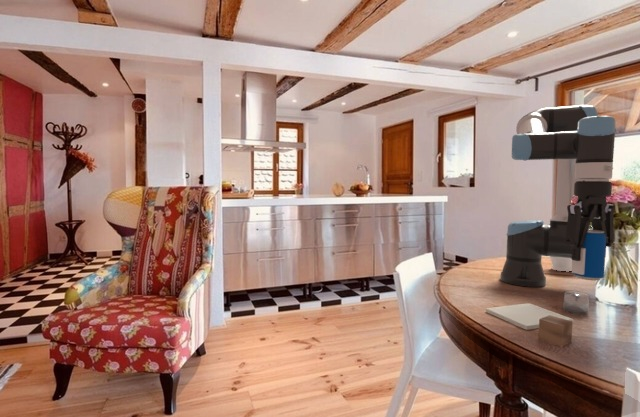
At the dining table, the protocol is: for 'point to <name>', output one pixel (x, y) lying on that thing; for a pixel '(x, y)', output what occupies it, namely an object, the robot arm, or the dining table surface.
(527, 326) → the white board
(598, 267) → the beverage can
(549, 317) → the walnut block
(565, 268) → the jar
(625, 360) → the dining table surface
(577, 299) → the grey metal tin
